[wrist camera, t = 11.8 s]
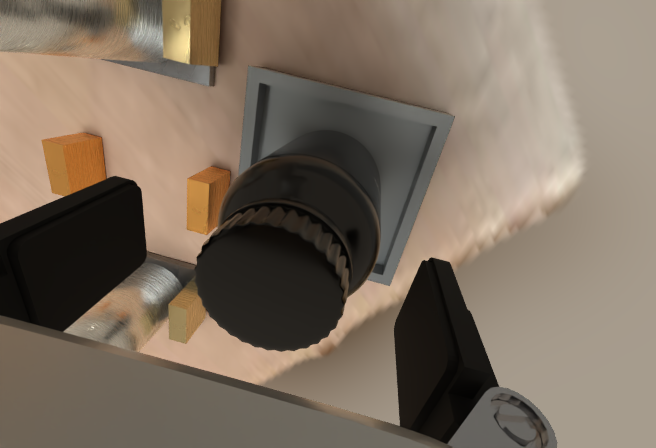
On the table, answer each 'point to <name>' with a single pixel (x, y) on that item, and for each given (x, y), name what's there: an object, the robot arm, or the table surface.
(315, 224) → the supplement bottle
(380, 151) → the tray
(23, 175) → the table surface
